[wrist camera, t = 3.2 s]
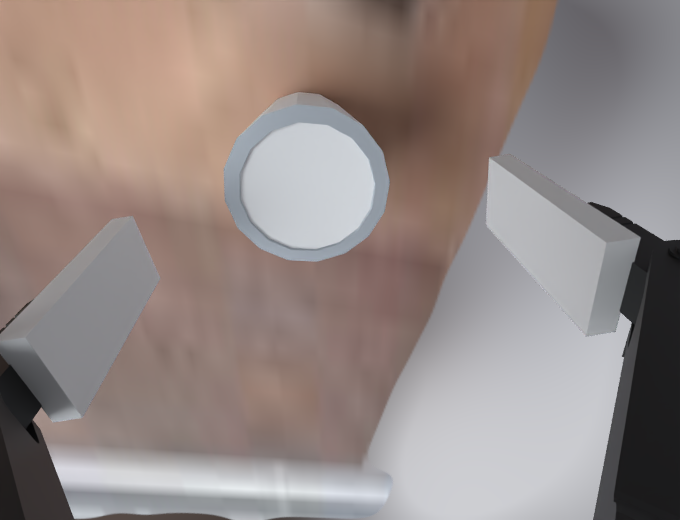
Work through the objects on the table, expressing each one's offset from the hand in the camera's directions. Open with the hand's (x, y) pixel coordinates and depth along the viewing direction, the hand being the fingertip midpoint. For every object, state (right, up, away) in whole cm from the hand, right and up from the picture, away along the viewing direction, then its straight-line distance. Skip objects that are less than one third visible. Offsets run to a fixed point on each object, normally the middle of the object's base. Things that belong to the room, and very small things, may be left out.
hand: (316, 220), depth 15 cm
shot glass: (-1, +5, +8) cm, 9 cm away
